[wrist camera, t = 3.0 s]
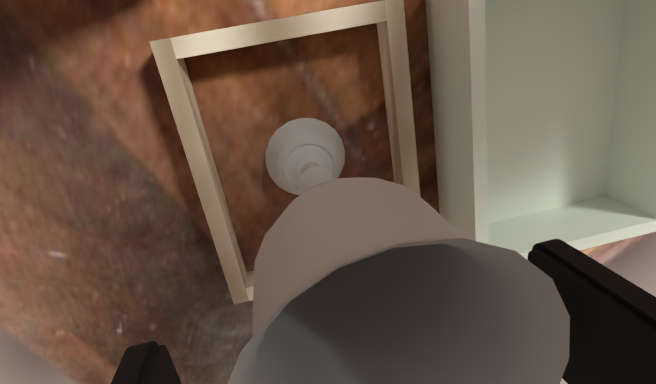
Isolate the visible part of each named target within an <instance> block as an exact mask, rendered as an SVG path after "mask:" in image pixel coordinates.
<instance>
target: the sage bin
mask: <svg viewBox="0 0 656 384" xmlns="http://www.w3.org/2000/svg"><path fill="white" fill-rule="evenodd" d="M425 7H426V22H427V37H428V52H429V66H430V81H431V96H432V111H433V126H434V141H435V155H436V170H437V185H438V200H439V214H440V215H441V216H442V217H443V218H444V219H445V220H446V221H447V222H449V223H450V224H451V225H452V226H453V227H454V228H455V229H456V230H457V231H458V232H459V233H460V234H461V235H462V236H464V237H465V238H466V239H469V240H473V241H477V242H482V243H486V244H490V245H494V246H498V247H502V248H506V249H510V250H514V251H516V252H518V253H519V254H520V255H522V256H523V257H524V258H526V259H527V260H528V253H529V252H530V251H532V247H533V246H534V245H535V244H536V243H540V242H544V241H548V240H552V239H560V240H562V241H564V242H566V243H567V244H569V245H570V246H572V247H574V248H575V249H577V250H583V249H587V248H591V247H595V246H599V245H603V244H607V243H611V242H615V241H619V240H623V239H627V238H631V237H635V236H639V235H643V234H647V233H651V232H655V231H656V0H425Z"/></svg>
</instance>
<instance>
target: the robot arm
mask: <svg viewBox="0 0 656 384" xmlns="http://www.w3.org/2000/svg"><path fill="white" fill-rule="evenodd" d="M528 261H530V262H531V263H532V264H533V265H535V266H536V267H537V268H539V269H540V270H541V271H543V272H544V273H545V274H546V275H548V276H549V277H550V278H552V279H553V281H554V284H555V286H556V288H557V290H558V292H559V294H560V297H561V299H562V301H563V303H564V305H565V307H566V309H567V312H568V314H569V316H570V342H569V360H568V363H567V365H566V368H565V371H564V373H563V376H562V378H563V379H564V380H565V381H566V382H567V383H568V384H656V297H654V296H653V295H651V294H649V293H648V292H646V291H644V290H643V289H641V288H639V287H638V286H636V285H634V284H633V283H631V282H630V281H628V280H626V279H625V278H623V277H621V276H620V275H618V274H616V273H615V272H613V271H612V270H610V269H608V268H606V267H605V266H603V265H602V264H600V263H598V262H597V261H595V260H594V259H592V258H590V257H589V256H587V255H585V254H584V253H582V252H580V251H579V250H577V249H575V248H574V247H572V246H570V245H569V244H567V243H566V242H564V241H562V240H560V239H552V240H548V241H544V242H540V243H536V244H535V245H534V246H533V247H532V251H530V252H529V253H528ZM111 384H181V381H180V379H179V376H178V374H177V372H176V369H175V367H174V364H173V362H172V360H171V357H170V355H169V352H168V350H167V348H166V346H165V345H161V346H158V344H157V343H156V342H155V341H151V342H147V343H143V344H139V345H135V346H131V347H129V348H127V350H126V351H125V353H124V355H123V358H122V360H121V362H120V364H119V367H118V369H117V371H116V373H115V376H114V378H113V380H112V382H111Z"/></svg>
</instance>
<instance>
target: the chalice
mask: <svg viewBox="0 0 656 384" xmlns="http://www.w3.org/2000/svg"><path fill="white" fill-rule="evenodd" d="M344 163H345V149H344V145H343V141H342V139H341V138H340V136H339V135H338V133H337V132H336V130H335V129H334V128H332V127H331V126H330V125H328V124H327V123H326V122H323V121H320V120H317V119H315V118H299V119H296V120H292V121H289V122H287V123H286V124H284V125H283V126H281V127H280V128H279V129H277V130H276V132H275V133H274V134H273V136H272V137H271V138H270V140H269V143H268V146H267V149H266V152H265V164H266V167H267V170H268V173H269V176H270V177H271V178H272V180H273V181H274V182H275V184H276V185H277V186H279V187H280V188H282V189H283V190H285V191H286V192H288V193H292V194H295V195H299V196H298V197H297V198H295V199H294V200H293V201H292V202H291V203H290V205H289V206H288V207H287V208H286V209H285V210H284V212H283V213H282V214H281V215H280V217H279V218H278V219H277V220H276V222H275V223H274V224H273V225H272V227H271V228H270V229H269V230H268V232H267V233H266V234H265V236H264V239H263V241H262V244H261V246H260V249H259V251H258V254H257V257H256V259H255V262H254V288H253V318H252V338H251V339H250V340H249V342H248V343H247V344H246V345H245V347H244V348H243V349H242V350H241V352H240V355H239V357H238V359H237V362H236V364H235V367H234V369H233V371H232V374H231V376H230V379H229V381H228V383H227V384H560V381H561V379H562V376H563V373H564V371H565V368H566V365H567V363H568V360H569V342H570V316H569V314H568V312H567V309H566V307H565V305H564V303H563V301H562V299H561V297H560V294H559V292H558V290H557V288H556V286H555V284H554V281H553V279H552V278H550V277H549V276H548V275H546V274H545V273H544V272H543V271H541V270H540V269H539V268H537V267H536V266H535V265H533V264H532V263H531V262H530V261H528V260H527V259H526V258H524V257H523V256H522V255H520V254H519V253H518V252H516V251H514V250H510V249H506V248H502V247H498V246H494V245H490V244H486V243H482V242H477V241H473V240H469V239H466V238H465V237H464V236H462V235H461V234H460V233H459V232H458V231H457V230H456V229H455V228H454V227H453V226H452V225H451V224H450V223H449V222H447V221H446V220H445V219H444V218H443V217H442V216H441V215H440V214H439V213H438V212H437V211H436V210H435V209H433V208H432V207H431V206H430V205H429V204H428V203H427V202H426V201H424V200H423V199H422V198H420V197H419V196H418V195H416V194H415V193H414V192H412V191H411V190H410V189H408V188H407V187H406V186H404V185H401V184H397V183H393V182H390V181H386V180H382V179H379V178H368V177H354V178H338V177H339V176H340V174H341V171H342V169H343V166H344Z"/></svg>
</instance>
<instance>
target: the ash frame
mask: <svg viewBox="0 0 656 384" xmlns="http://www.w3.org/2000/svg"><path fill="white" fill-rule="evenodd" d="M374 23H376V24H377V33H378V42H379V51H380V60H381V69H382V78H383V86H384V95H385V104H386V113H387V122H388V131H389V140H390V149H391V158H392V167H393V175H394V183H397V184H401V185H404V186H406V187H407V188H408V189H410V190H411V191H412V192H414V193H415V194H416V195H418V196H419V197H420V185H419V174H418V162H417V151H416V139H415V127H414V116H413V104H412V93H411V81H410V69H409V58H408V46H407V35H406V23H405V11H404V0H382V1H376V2H370V3H365V4H359V5H353V6H348V7H342V8H337V9H331V10H325V11H320V12H314V13H308V14H303V15H297V16H291V17H286V18H280V19H274V20H269V21H263V22H257V23H252V24H246V25H241V26H235V27H229V28H224V29H218V30H212V31H207V32H201V33H195V34H190V35H184V36H178V37H173V38H167V39H161V40H156V41H150V45H151V48H152V51H153V54H154V57H155V60H156V64H157V67H158V70H159V73H160V76H161V79H162V82H163V85H164V88H165V92H166V95H167V98H168V101H169V104H170V107H171V110H172V113H173V117H174V120H175V123H176V126H177V129H178V132H179V135H180V138H181V141H182V145H183V148H184V151H185V154H186V157H187V160H188V163H189V166H190V170H191V173H192V176H193V179H194V182H195V185H196V188H197V191H198V195H199V198H200V201H201V204H202V207H203V210H204V213H205V216H206V219H207V223H208V226H209V229H210V232H211V235H212V238H213V241H214V244H215V248H216V251H217V254H218V257H219V260H220V263H221V266H222V269H223V272H224V276H225V279H226V282H227V285H228V288H229V291H230V294H231V297H232V301H233V304H234V305H235V304H239V303H243V302H247V301H252V300H253V288H254V270H251V271H246V268H245V265H244V261H243V258H242V254H241V251H240V247H239V244H238V241H237V237H236V234H235V230H234V227H233V224H232V220H231V217H230V213H229V210H228V207H227V203H226V200H225V196H224V193H223V190H222V186H221V183H220V179H219V176H218V173H217V169H216V166H215V162H214V159H213V156H212V152H211V149H210V145H209V142H208V139H207V135H206V132H205V128H204V125H203V122H202V118H201V115H200V111H199V108H198V105H197V101H196V98H195V94H194V91H193V87H192V84H191V81H190V77H189V74H188V70H187V67H186V64H185V60H184V58H188V57H193V56H199V55H204V54H210V53H215V52H221V51H226V50H232V49H237V48H243V47H248V46H254V45H259V44H265V43H270V42H276V41H281V40H287V39H292V38H298V37H303V36H309V35H314V34H320V33H325V32H330V31H336V30H341V29H347V28H352V27H358V26H363V25H369V24H374ZM420 198H421V197H420Z"/></svg>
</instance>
